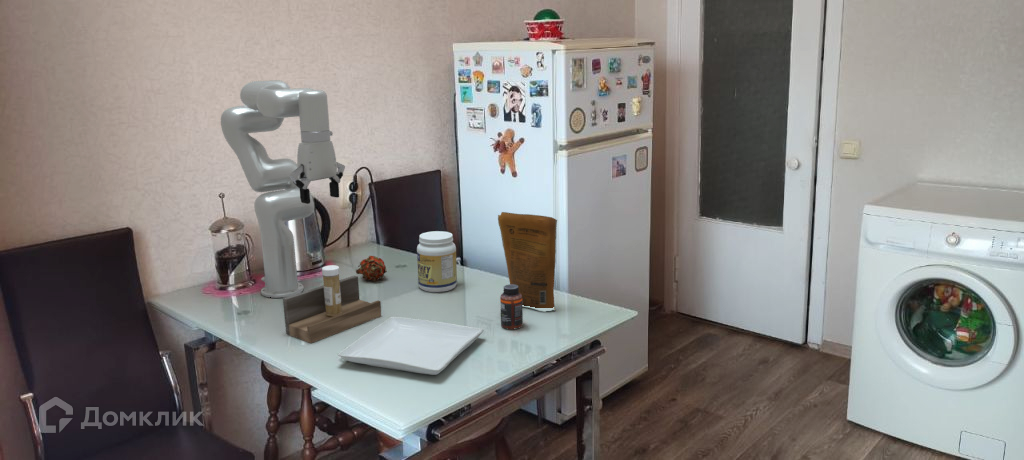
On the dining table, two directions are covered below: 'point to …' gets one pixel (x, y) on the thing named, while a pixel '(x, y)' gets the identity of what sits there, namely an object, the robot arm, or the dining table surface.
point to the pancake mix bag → (530, 256)
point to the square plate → (411, 345)
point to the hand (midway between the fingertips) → (320, 199)
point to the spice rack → (310, 312)
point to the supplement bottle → (511, 307)
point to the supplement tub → (436, 261)
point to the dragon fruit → (372, 268)
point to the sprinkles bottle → (332, 290)
